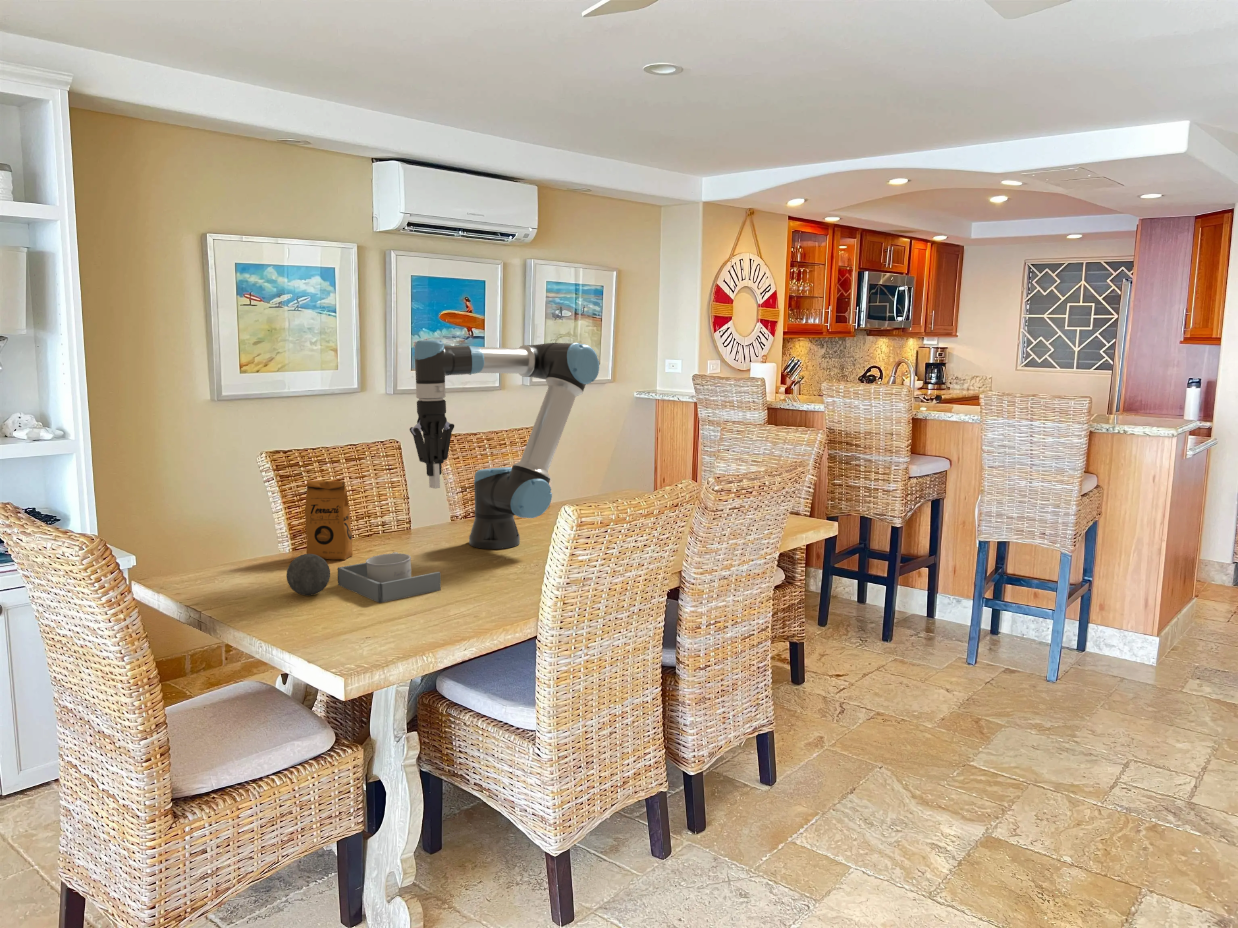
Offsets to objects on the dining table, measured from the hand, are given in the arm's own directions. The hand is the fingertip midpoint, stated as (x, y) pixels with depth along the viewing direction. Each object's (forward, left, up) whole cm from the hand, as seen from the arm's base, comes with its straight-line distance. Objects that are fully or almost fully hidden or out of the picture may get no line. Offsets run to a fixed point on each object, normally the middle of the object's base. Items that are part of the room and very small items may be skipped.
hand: (434, 487), depth 248 cm
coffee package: (+16, -29, -22) cm, 40 cm away
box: (+19, +9, -22) cm, 30 cm away
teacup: (+18, +9, -22) cm, 30 cm away
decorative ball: (+37, +2, -22) cm, 43 cm away
